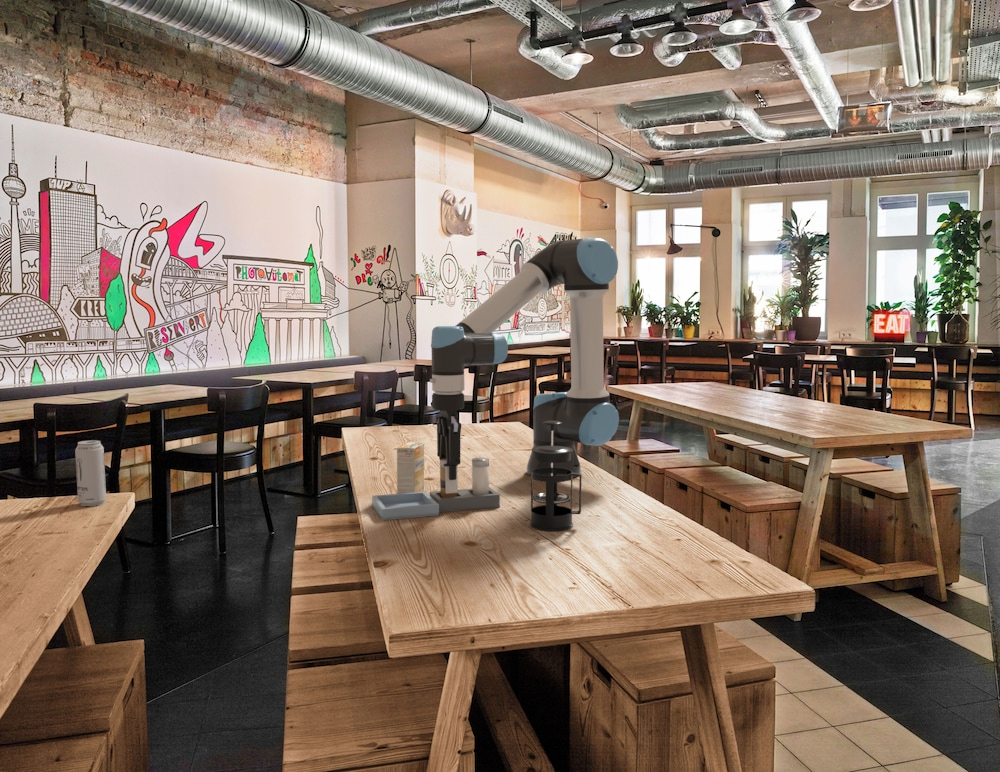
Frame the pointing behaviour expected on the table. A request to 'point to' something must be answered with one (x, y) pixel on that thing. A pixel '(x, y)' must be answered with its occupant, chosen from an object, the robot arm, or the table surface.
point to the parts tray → (405, 505)
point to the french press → (552, 488)
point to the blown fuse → (442, 481)
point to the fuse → (480, 476)
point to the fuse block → (466, 500)
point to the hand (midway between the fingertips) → (448, 490)
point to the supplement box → (410, 468)
